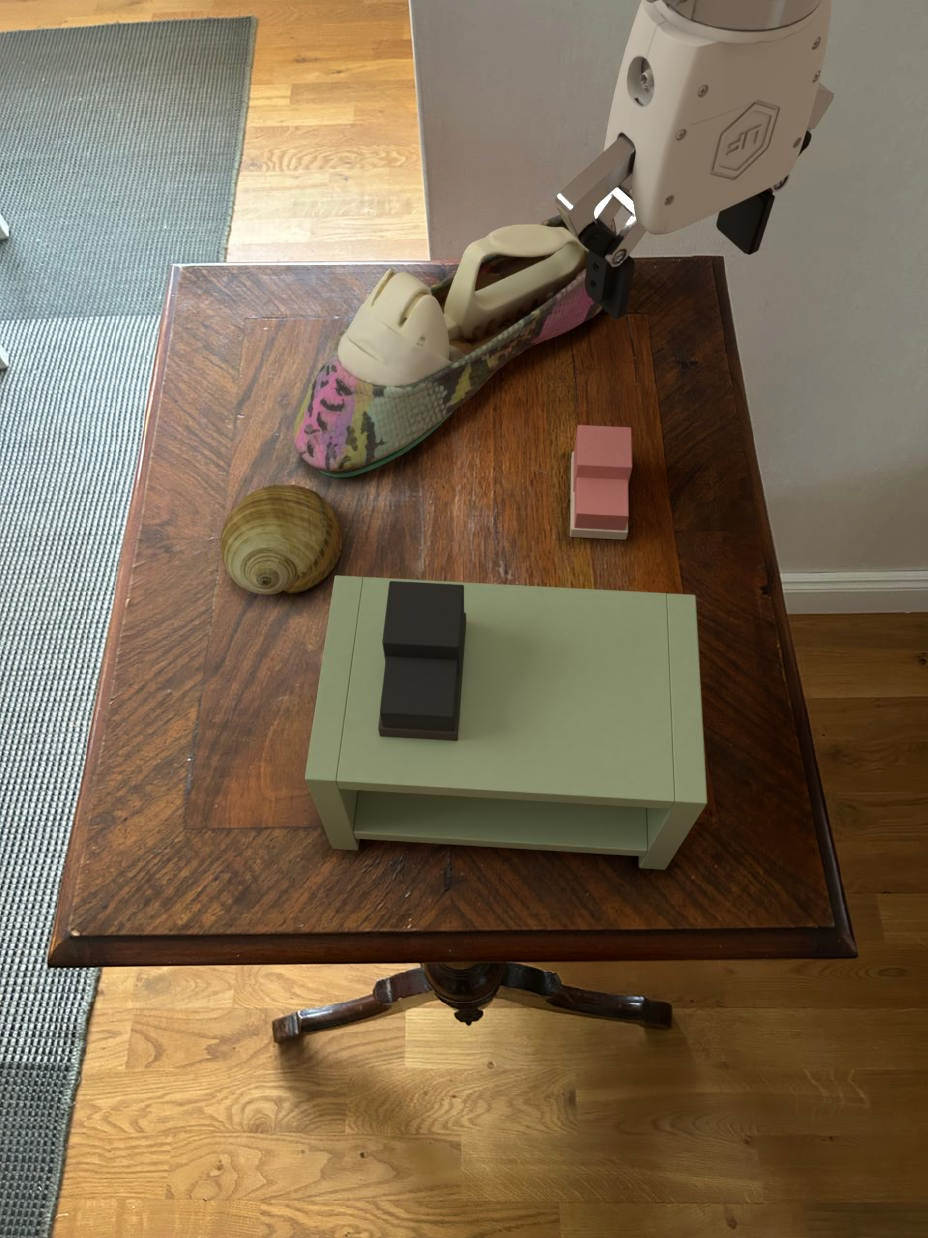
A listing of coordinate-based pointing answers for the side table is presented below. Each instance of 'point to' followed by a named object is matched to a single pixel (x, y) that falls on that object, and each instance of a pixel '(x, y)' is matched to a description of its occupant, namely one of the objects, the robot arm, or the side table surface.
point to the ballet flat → (439, 344)
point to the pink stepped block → (600, 482)
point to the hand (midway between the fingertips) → (671, 270)
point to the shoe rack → (521, 726)
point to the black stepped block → (423, 661)
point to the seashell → (281, 540)
